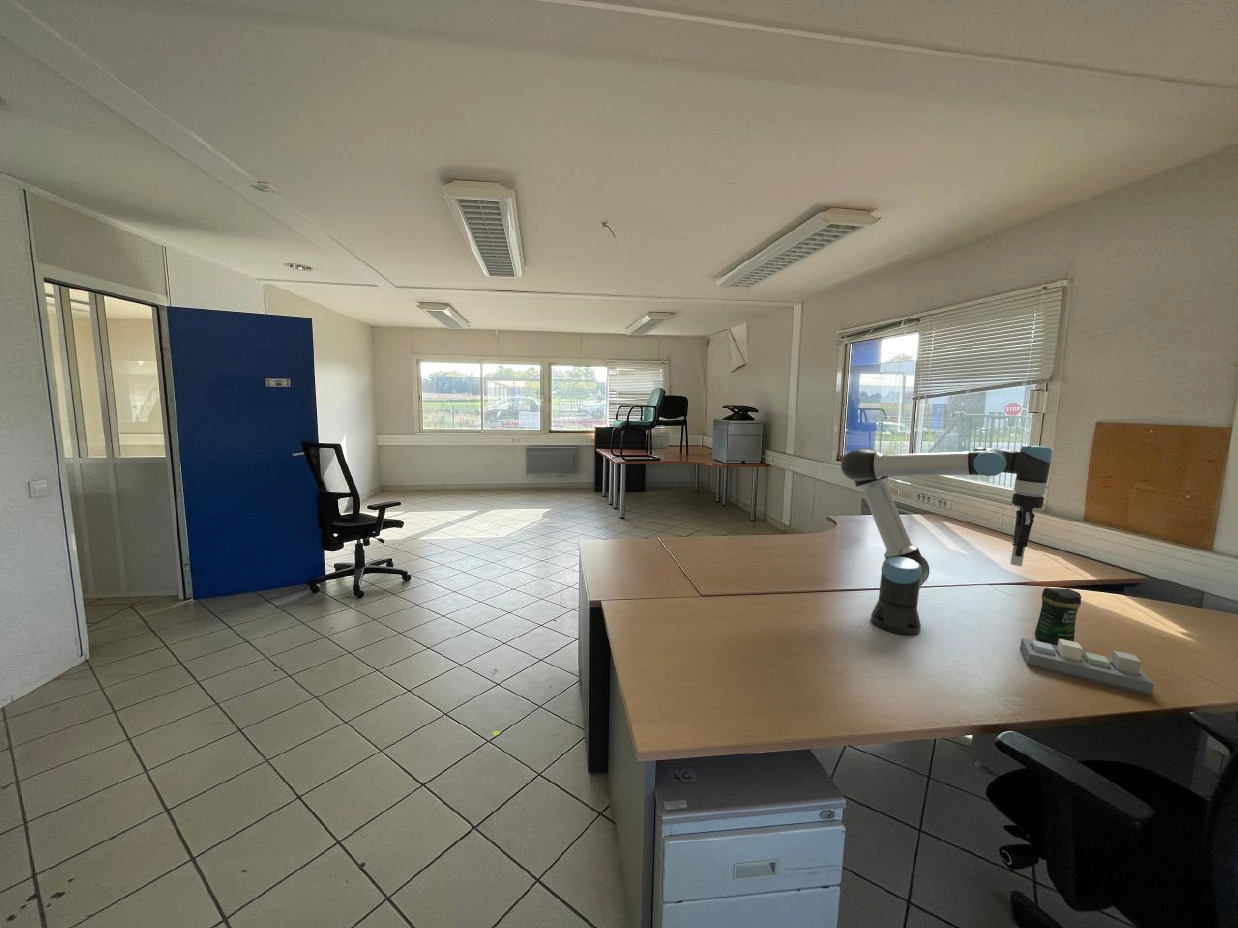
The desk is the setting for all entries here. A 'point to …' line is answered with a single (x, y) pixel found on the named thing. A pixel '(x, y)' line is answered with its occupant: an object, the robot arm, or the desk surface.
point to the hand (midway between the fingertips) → (1015, 564)
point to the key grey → (1126, 662)
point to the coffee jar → (1058, 615)
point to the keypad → (1086, 670)
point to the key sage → (1096, 659)
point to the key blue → (1042, 647)
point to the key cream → (1069, 649)
